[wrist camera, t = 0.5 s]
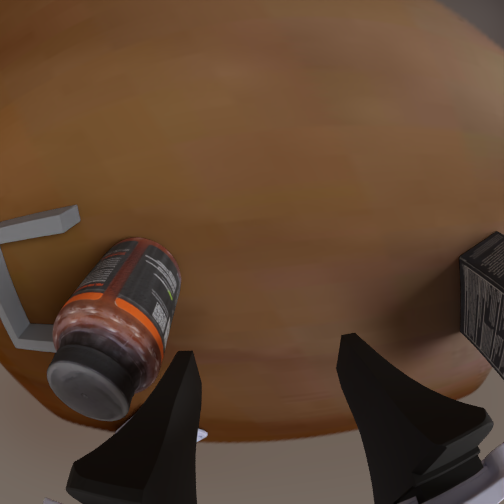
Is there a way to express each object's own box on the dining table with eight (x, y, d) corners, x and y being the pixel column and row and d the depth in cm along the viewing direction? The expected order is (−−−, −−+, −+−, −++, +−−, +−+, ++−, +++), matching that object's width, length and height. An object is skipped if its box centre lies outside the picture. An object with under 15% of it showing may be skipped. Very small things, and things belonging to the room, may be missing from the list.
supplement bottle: (93, 275, 20) (17, 381, 9) (132, 216, 18) (41, 313, 8) (154, 321, 22) (117, 444, 11) (200, 270, 20) (176, 403, 10)
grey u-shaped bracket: (76, 204, 17) (59, 214, 15) (116, 336, 22) (107, 355, 20) (-14, 225, 17) (-31, 235, 15) (27, 332, 22) (15, 347, 19)
